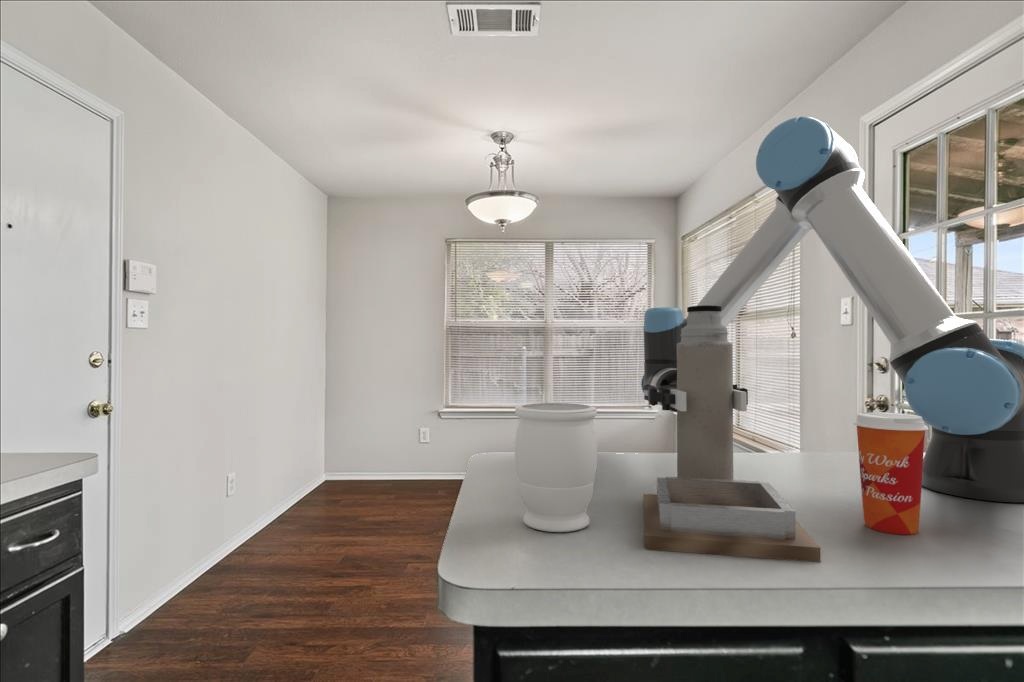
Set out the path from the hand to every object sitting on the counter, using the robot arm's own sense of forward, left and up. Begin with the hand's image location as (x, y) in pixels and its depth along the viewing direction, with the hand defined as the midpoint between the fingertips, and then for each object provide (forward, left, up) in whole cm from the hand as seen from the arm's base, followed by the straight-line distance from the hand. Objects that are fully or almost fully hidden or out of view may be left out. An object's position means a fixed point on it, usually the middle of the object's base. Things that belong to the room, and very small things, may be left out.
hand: (713, 401), depth 79 cm
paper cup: (-20, +5, -15) cm, 26 cm away
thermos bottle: (+1, -5, -14) cm, 15 cm away
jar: (+21, +12, -15) cm, 28 cm away
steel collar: (+1, +10, -13) cm, 17 cm away
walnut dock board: (+1, +10, -15) cm, 18 cm away
